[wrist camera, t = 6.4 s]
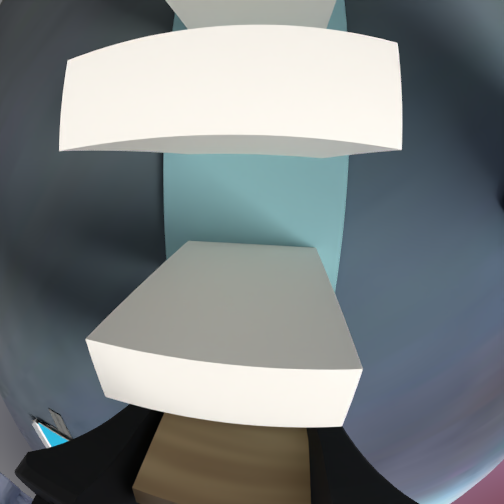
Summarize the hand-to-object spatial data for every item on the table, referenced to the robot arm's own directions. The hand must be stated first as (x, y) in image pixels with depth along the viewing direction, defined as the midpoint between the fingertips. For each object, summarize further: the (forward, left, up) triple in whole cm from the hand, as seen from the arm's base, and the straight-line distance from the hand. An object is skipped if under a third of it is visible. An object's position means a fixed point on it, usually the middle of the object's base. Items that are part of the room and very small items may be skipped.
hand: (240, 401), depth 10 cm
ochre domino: (0, 0, -2) cm, 2 cm away
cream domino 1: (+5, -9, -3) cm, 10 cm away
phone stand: (+5, +27, -4) cm, 28 cm away
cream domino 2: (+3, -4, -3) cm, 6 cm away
